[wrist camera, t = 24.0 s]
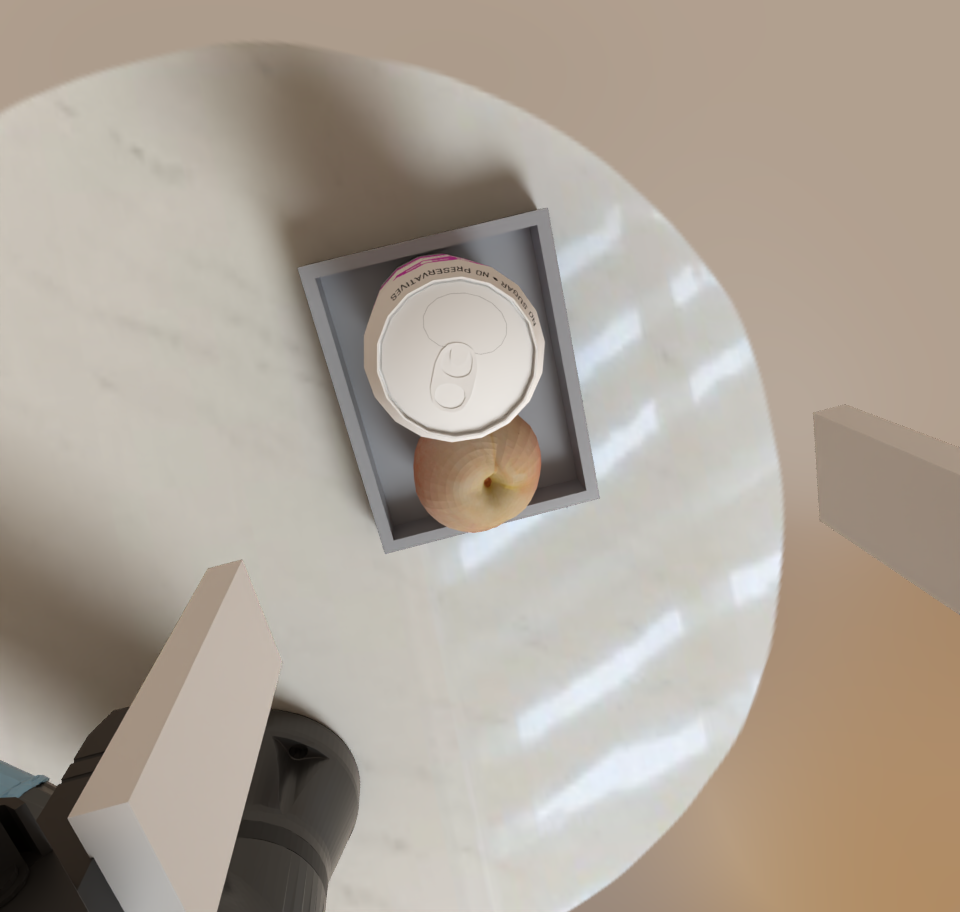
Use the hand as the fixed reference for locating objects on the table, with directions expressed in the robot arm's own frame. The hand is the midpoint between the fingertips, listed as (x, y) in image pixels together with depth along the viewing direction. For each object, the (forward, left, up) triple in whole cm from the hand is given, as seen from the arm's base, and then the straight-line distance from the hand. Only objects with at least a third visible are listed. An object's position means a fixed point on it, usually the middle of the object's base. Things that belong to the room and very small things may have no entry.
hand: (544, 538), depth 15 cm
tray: (0, -3, -31) cm, 31 cm away
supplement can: (0, +1, -30) cm, 30 cm away
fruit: (0, -8, -30) cm, 31 cm away
